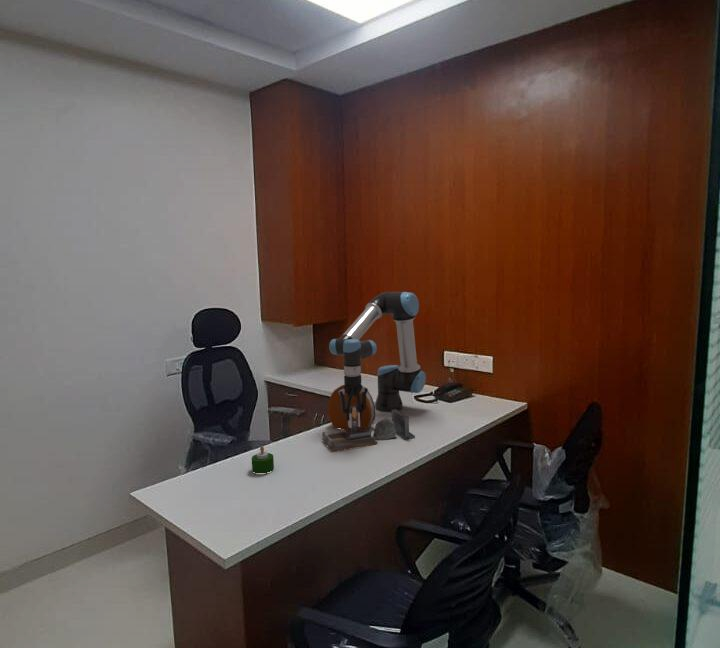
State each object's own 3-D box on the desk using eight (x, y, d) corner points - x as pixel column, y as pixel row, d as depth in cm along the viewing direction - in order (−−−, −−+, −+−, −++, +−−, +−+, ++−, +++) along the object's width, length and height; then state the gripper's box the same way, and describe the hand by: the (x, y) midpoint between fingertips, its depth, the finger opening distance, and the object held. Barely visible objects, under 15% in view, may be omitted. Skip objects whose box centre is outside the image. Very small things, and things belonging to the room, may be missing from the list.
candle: (263, 476, 183) (262, 451, 182) (247, 472, 187) (246, 447, 186) (278, 468, 190) (277, 444, 189) (262, 464, 194) (261, 440, 193)
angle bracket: (392, 430, 231) (391, 409, 229) (401, 428, 232) (401, 408, 231) (405, 439, 218) (404, 418, 216) (415, 437, 219) (414, 416, 218)
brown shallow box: (322, 440, 219) (321, 431, 218) (365, 434, 226) (365, 425, 225) (331, 451, 206) (331, 442, 205) (377, 444, 213) (377, 434, 212)
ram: (343, 436, 219) (342, 405, 217) (364, 433, 223) (363, 402, 221) (350, 442, 211) (349, 410, 210) (371, 439, 215) (370, 407, 213)
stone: (385, 418, 215) (388, 411, 225) (368, 432, 218) (372, 424, 228) (399, 435, 215) (401, 427, 225) (382, 448, 218) (385, 439, 227)
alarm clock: (377, 426, 236) (376, 381, 233) (369, 433, 227) (368, 385, 225) (337, 421, 245) (336, 377, 243) (328, 427, 237) (326, 382, 234)
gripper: (337, 378, 207) (339, 431, 209) (373, 374, 212) (374, 426, 215) (332, 375, 214) (334, 426, 216) (366, 371, 219) (368, 421, 222)
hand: (354, 426), depth 216 cm, fingers closed on ram, 3 cm apart
